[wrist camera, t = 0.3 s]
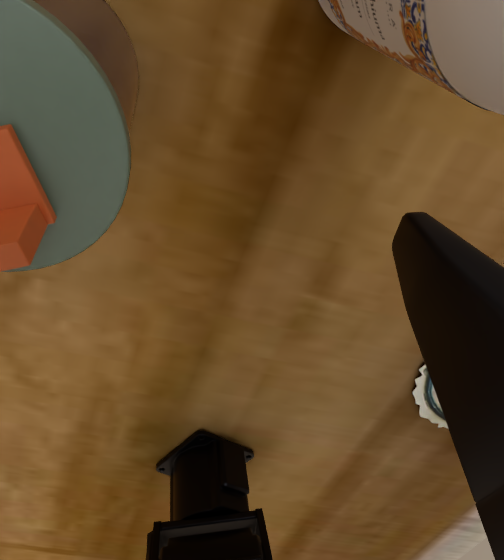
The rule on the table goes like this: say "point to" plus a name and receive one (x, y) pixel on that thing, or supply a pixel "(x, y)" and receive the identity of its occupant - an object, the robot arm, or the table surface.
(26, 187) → the slider
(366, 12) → the bath foam
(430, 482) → the table surface
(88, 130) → the travel cup
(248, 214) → the table surface
